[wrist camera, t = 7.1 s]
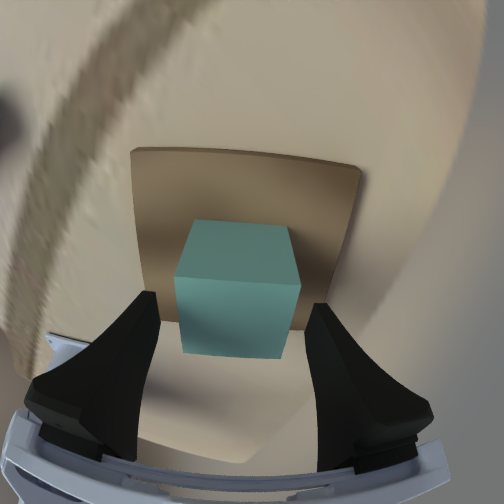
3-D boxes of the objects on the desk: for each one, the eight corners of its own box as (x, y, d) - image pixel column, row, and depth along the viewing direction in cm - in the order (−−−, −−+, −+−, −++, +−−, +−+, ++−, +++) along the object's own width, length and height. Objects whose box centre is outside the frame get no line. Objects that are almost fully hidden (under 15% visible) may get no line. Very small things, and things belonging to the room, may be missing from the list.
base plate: (311, 320, 21) (320, 362, 17) (154, 309, 20) (140, 350, 16) (355, 165, 14) (386, 191, 11) (137, 147, 13) (103, 167, 10)
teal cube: (274, 295, 18) (280, 358, 13) (196, 289, 17) (183, 352, 13) (286, 226, 15) (301, 285, 11) (194, 219, 15) (173, 276, 10)
